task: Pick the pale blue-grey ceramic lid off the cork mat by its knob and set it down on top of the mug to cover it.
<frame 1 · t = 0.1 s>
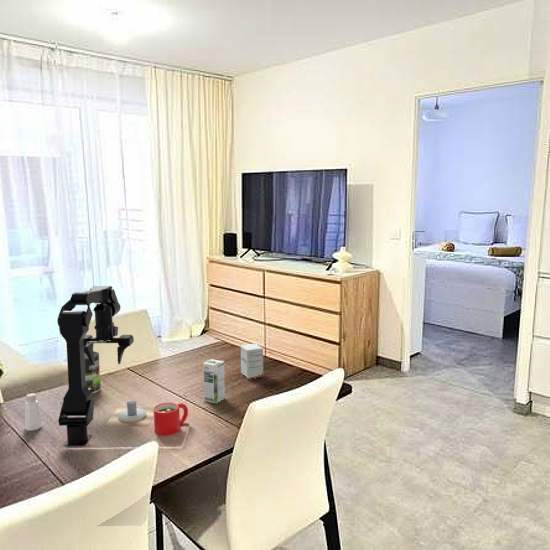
hand: (106, 364, 171), 15 cm above the table, fingers open, 9 cm apart
mat: (132, 417, 161), on the table
supplement box: (252, 376, 199), on the table
syrup box: (214, 400, 176), on the table
mug: (172, 429, 154), on the table
lid: (132, 416, 161), resting on mat
pepper shaker: (33, 427, 155), on the table
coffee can: (86, 390, 185), on the table
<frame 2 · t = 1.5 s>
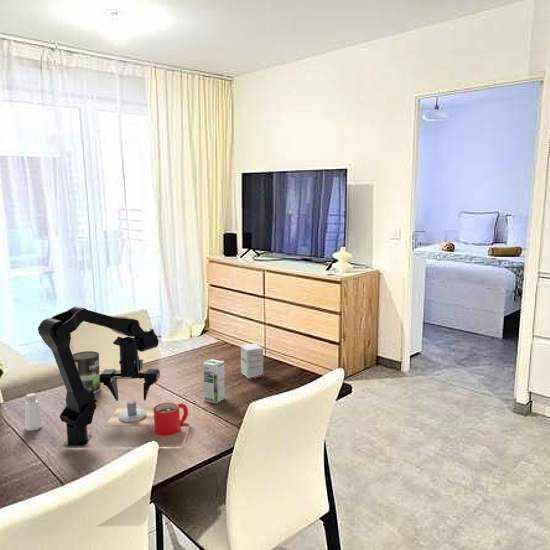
hand: (131, 400, 160), 6 cm above the table, fingers open, 9 cm apart
nothing on the table moved.
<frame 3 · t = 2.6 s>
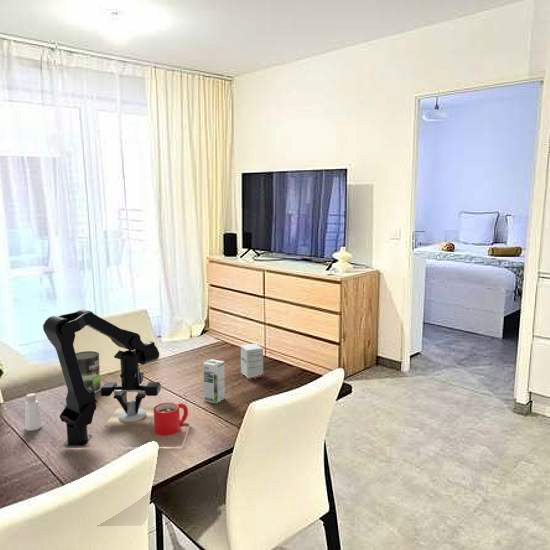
hand: (132, 413, 161), 2 cm above the table, fingers closed on lid, 3 cm apart
lid: (132, 416, 161), point 1 cm above the table, touching gripper, mat
everything else where it was.
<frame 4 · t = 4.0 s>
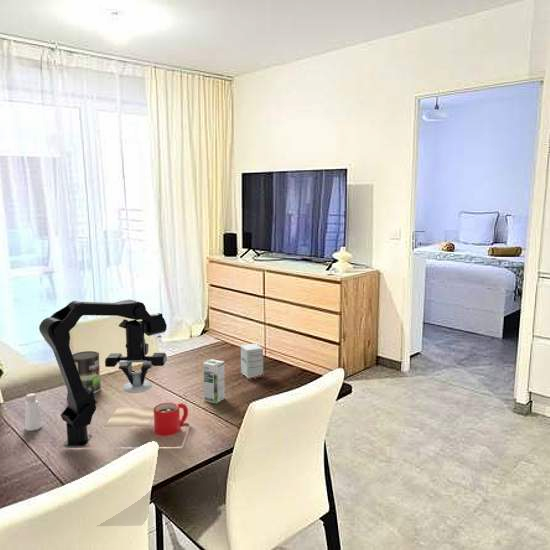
hand: (137, 384, 158), 12 cm above the table, fingers closed on lid, 3 cm apart
lid: (137, 387, 158), point 11 cm above the table, touching gripper
everything else where it was.
when the fingers open (11 cm above the table, at t = 5.3 s): lid drops 2 cm, resting on mug.
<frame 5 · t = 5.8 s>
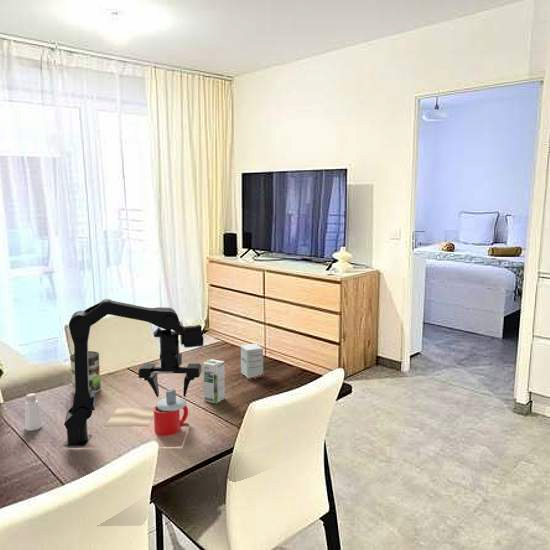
hand: (171, 396, 152), 11 cm above the table, fingers open, 8 cm apart
mug: (172, 429, 154), on the table, touching lid
lid: (171, 405, 152), point 8 cm above the table, touching mug
everything else where it was.
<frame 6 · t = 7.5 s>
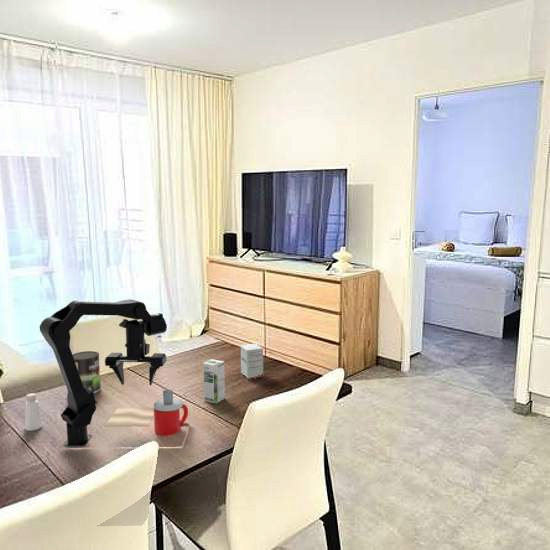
hand: (137, 384, 158), 12 cm above the table, fingers open, 9 cm apart
nothing on the table moved.
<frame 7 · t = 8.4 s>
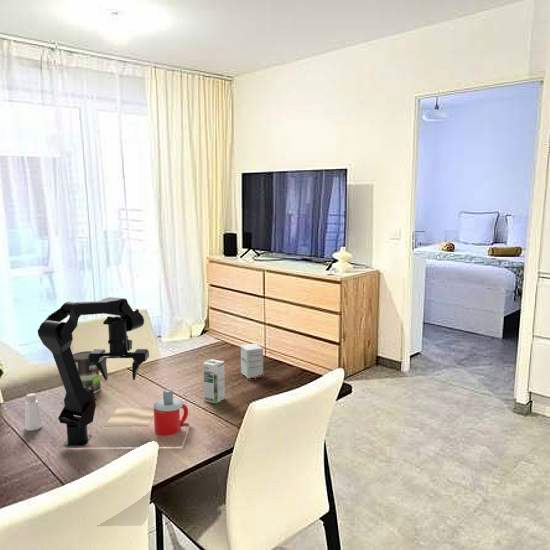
hand: (120, 380, 161), 12 cm above the table, fingers open, 9 cm apart
nothing on the table moved.
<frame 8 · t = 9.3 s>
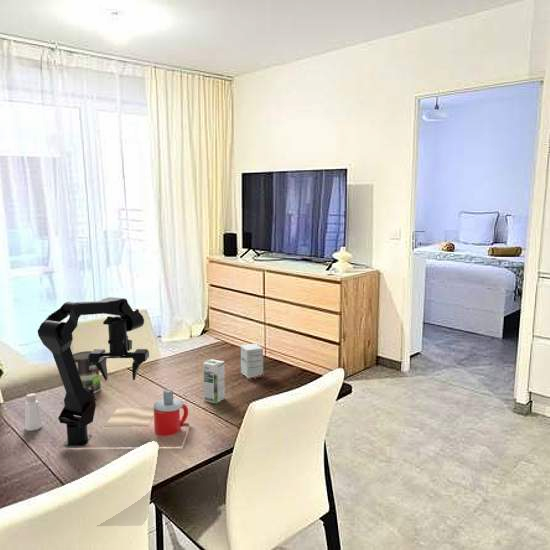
hand: (120, 380, 161), 12 cm above the table, fingers open, 9 cm apart
nothing on the table moved.
at the end: lid 1.0 cm from the mug (horizontally); lid point 7.8 cm above the table; lid tilted 0° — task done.
